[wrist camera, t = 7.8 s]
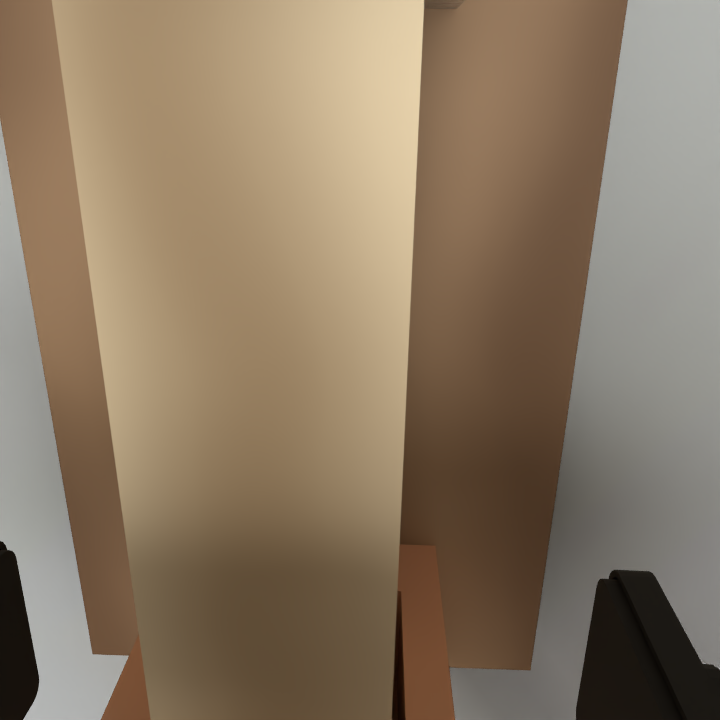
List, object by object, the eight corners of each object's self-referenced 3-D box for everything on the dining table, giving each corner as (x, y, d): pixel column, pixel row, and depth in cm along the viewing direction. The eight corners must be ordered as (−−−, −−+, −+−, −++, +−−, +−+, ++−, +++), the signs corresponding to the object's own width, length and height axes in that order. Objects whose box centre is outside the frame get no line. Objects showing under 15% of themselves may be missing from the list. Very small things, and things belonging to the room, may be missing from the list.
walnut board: (695, -683, 10) (743, -801, 9) (520, 629, 20) (530, 670, 19) (-86, -675, 11) (-157, -790, 9) (112, 614, 20) (92, 654, 19)
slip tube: (423, -275, 10) (448, -507, 6) (385, 689, 16) (385, 869, 13) (136, -277, 10) (-22, -504, 6) (217, 682, 16) (168, 859, 13)
